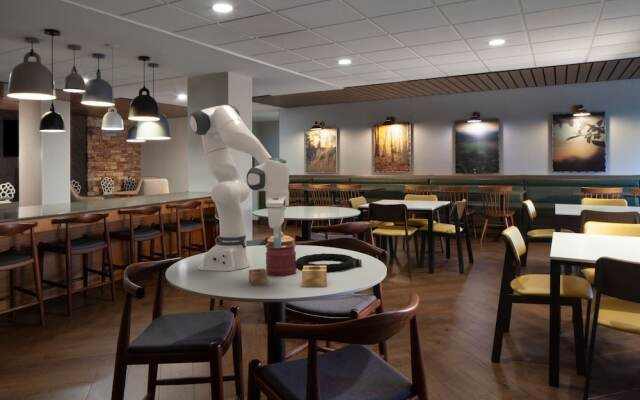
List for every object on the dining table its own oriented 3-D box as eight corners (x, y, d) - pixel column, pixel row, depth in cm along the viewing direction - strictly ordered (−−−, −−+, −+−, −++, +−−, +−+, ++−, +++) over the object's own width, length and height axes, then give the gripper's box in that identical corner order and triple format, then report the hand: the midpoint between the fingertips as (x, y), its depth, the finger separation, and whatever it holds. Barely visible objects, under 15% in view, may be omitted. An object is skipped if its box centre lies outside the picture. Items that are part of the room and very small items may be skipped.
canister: (292, 276, 189) (291, 233, 187) (262, 275, 191) (260, 233, 189) (299, 269, 201) (298, 229, 200) (270, 268, 204) (269, 229, 202)
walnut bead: (251, 286, 175) (251, 273, 174) (249, 282, 180) (248, 269, 180) (267, 284, 176) (267, 271, 176) (264, 280, 182) (263, 268, 182)
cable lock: (303, 252, 224) (364, 253, 218) (303, 259, 224) (364, 261, 218) (287, 264, 197) (357, 265, 191) (288, 272, 197) (357, 274, 191)
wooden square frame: (302, 286, 172) (302, 271, 172) (303, 280, 181) (303, 265, 181) (326, 286, 172) (326, 270, 172) (326, 280, 181) (326, 265, 181)
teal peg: (273, 248, 175) (273, 218, 174) (274, 246, 178) (274, 217, 177) (280, 248, 175) (280, 218, 174) (281, 246, 178) (281, 218, 177)
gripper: (272, 198, 185) (272, 232, 186) (265, 203, 165) (265, 241, 166) (287, 198, 185) (287, 232, 186) (283, 203, 165) (282, 241, 166)
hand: (277, 236), depth 176 cm, fingers closed on teal peg, 3 cm apart
